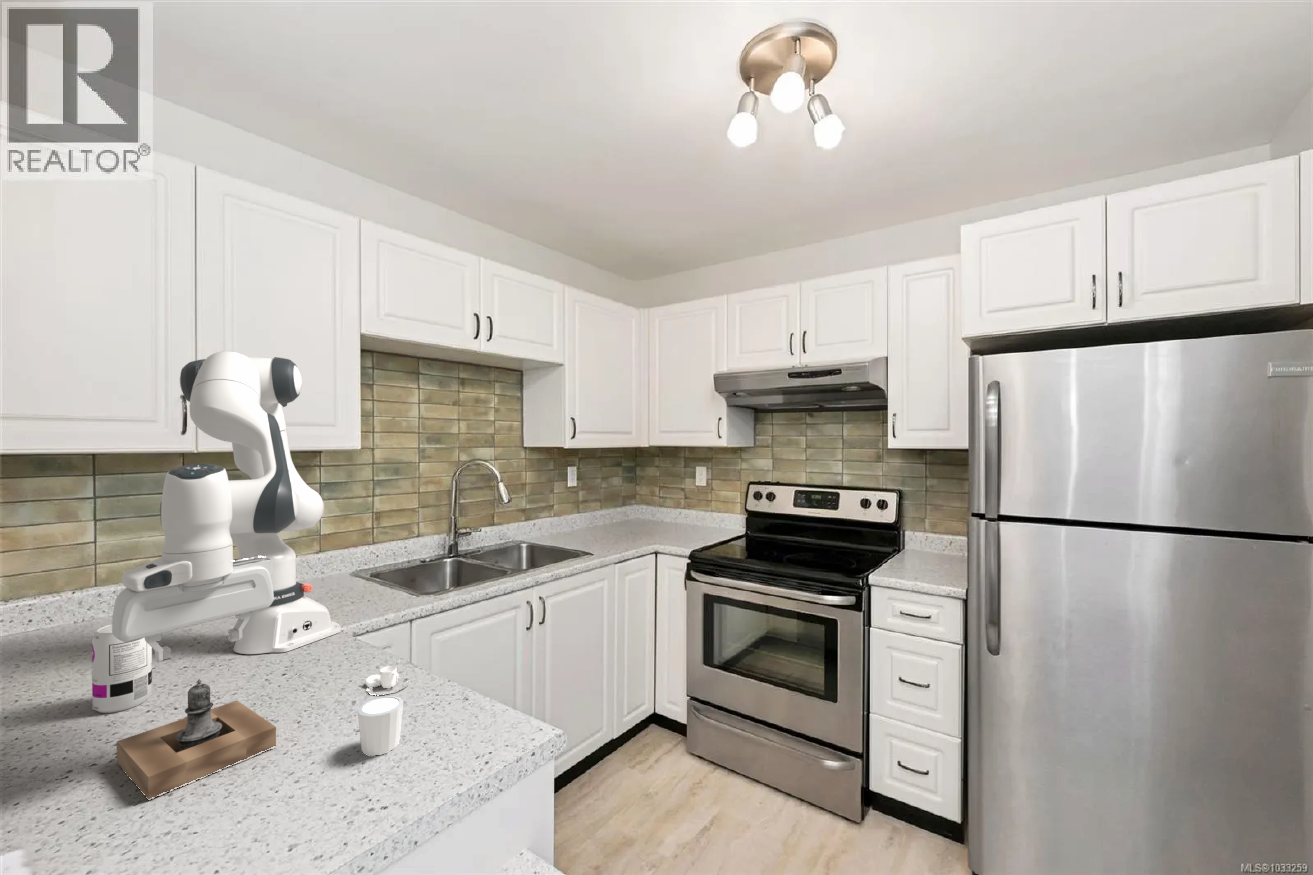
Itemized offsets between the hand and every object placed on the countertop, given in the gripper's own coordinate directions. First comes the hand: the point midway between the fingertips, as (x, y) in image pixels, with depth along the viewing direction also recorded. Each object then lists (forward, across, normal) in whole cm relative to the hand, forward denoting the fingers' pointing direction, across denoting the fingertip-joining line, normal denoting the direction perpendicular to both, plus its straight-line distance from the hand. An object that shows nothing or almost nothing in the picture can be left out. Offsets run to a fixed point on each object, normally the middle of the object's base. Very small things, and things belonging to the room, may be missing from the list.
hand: (200, 649), depth 89 cm
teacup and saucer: (+18, -32, +1) cm, 37 cm away
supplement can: (+18, +2, -33) cm, 37 cm away
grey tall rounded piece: (+17, 0, 0) cm, 17 cm away
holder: (+17, +1, 0) cm, 17 cm away
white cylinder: (+17, -17, +22) cm, 33 cm away
